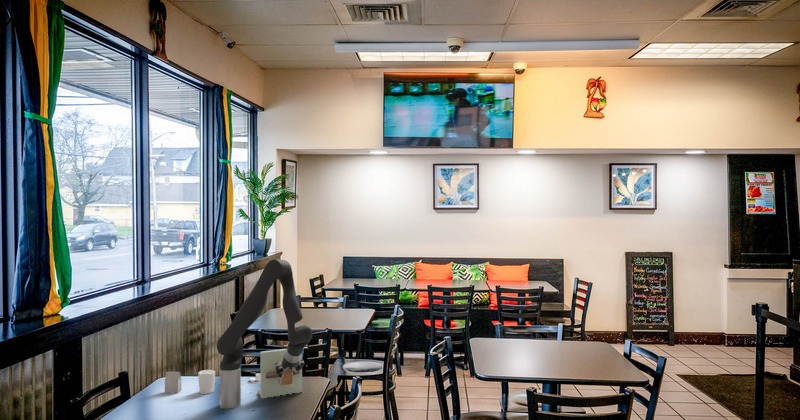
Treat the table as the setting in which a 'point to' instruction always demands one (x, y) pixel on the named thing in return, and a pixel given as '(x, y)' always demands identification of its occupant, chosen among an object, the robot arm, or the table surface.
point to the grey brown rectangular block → (172, 382)
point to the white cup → (206, 381)
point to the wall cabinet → (286, 378)
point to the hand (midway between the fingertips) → (286, 374)
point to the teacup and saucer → (258, 378)
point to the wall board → (276, 375)
